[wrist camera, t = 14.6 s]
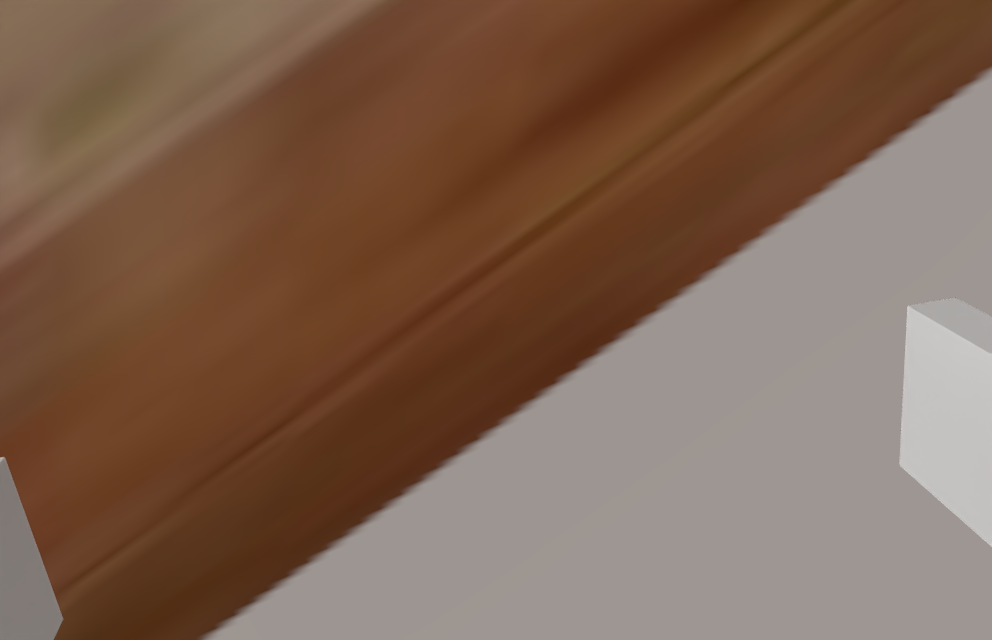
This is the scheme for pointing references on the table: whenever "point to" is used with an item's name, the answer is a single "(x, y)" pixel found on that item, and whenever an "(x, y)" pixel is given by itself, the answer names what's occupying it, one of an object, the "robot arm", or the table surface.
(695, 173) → the table surface
